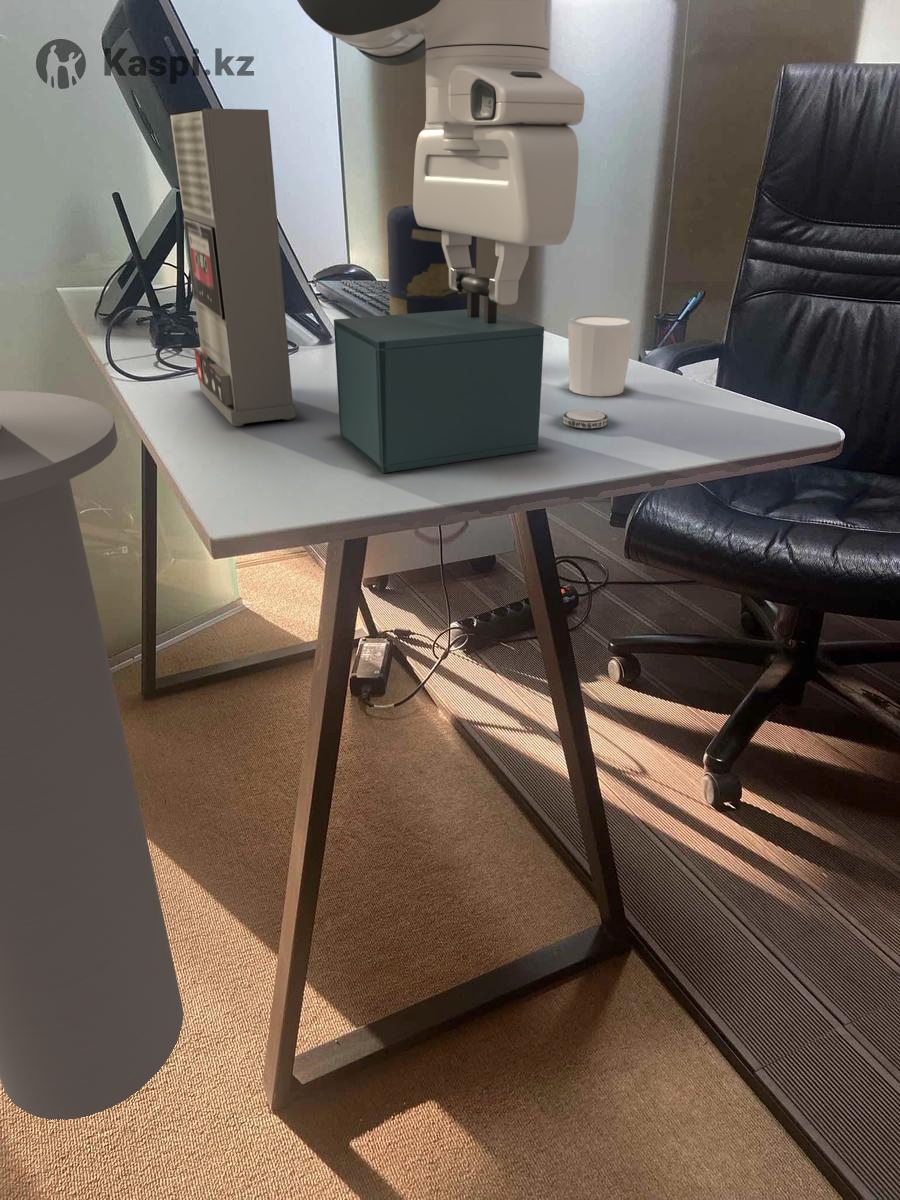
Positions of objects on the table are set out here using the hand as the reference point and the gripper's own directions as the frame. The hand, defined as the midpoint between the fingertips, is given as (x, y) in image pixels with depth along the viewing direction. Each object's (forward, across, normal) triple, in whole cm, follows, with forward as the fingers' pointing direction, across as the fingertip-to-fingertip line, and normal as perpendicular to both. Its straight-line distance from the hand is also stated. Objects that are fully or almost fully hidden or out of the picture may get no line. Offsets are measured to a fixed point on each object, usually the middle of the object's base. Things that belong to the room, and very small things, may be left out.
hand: (481, 296), depth 69 cm
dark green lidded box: (+12, 0, -4) cm, 12 cm away
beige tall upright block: (+12, -19, -16) cm, 27 cm away
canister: (+12, -25, +7) cm, 29 cm away
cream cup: (+12, -10, +19) cm, 25 cm away
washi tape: (+12, 0, +11) cm, 16 cm away
